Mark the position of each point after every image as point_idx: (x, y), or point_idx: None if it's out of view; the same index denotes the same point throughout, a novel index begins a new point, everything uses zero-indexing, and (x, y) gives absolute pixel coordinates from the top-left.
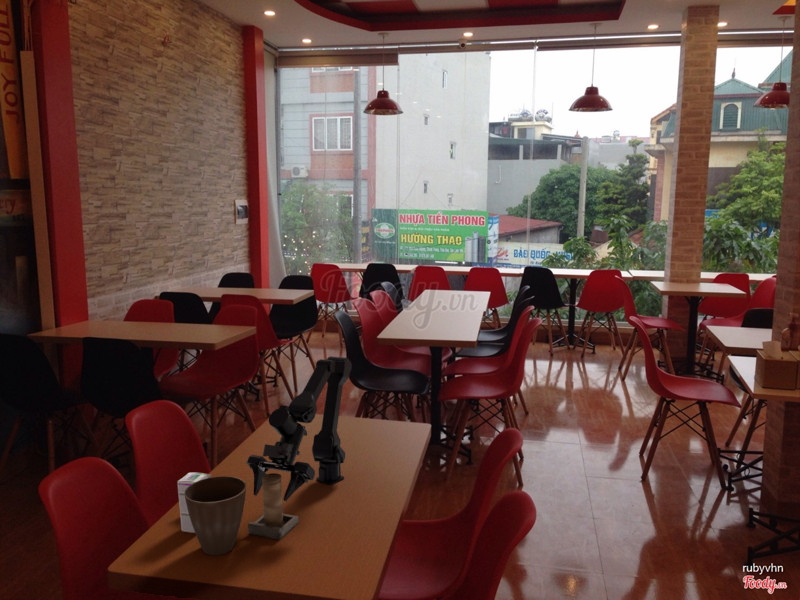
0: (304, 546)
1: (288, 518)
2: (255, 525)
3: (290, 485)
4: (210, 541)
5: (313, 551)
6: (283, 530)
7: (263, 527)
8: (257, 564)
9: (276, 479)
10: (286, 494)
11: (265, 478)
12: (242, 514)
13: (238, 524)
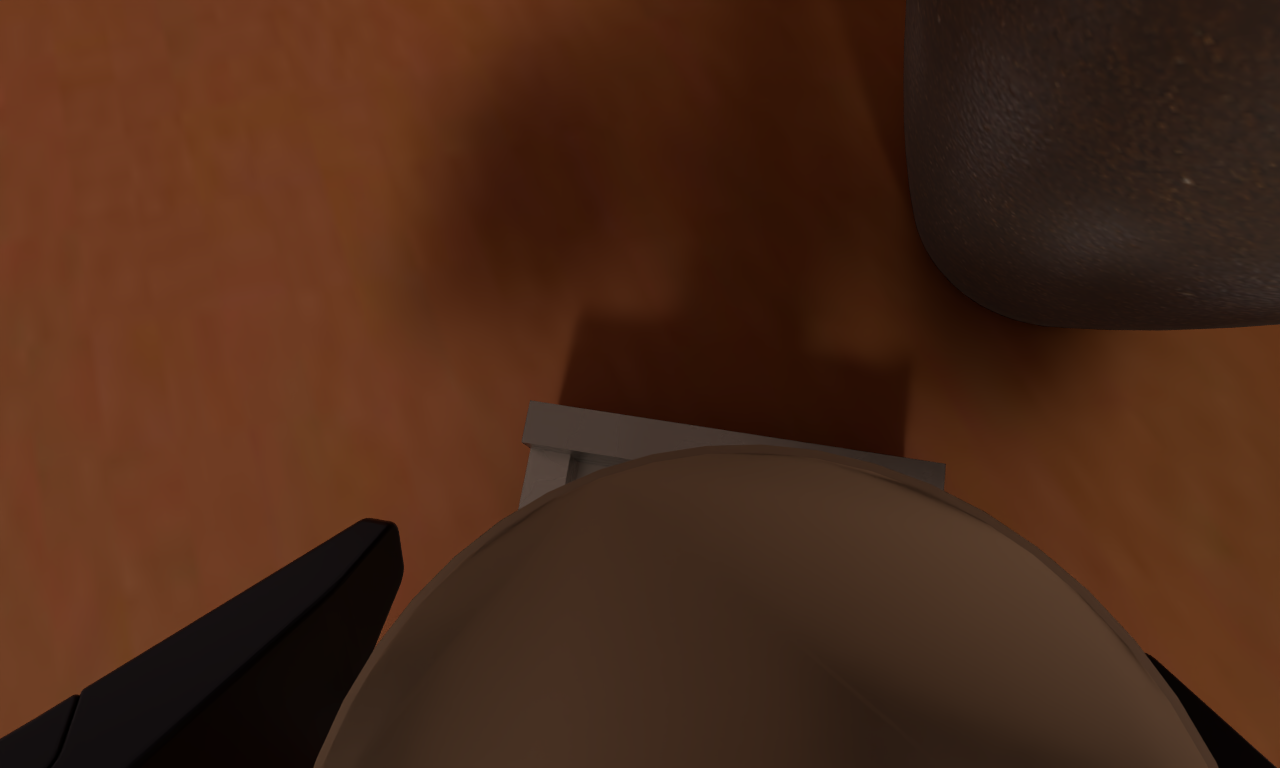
0: (302, 370)
1: None
2: (841, 451)
3: (52, 741)
4: None
5: (210, 312)
6: (524, 487)
7: (732, 434)
8: (595, 66)
9: (429, 727)
10: (290, 571)
11: (1004, 751)
12: (941, 69)
13: (906, 25)
